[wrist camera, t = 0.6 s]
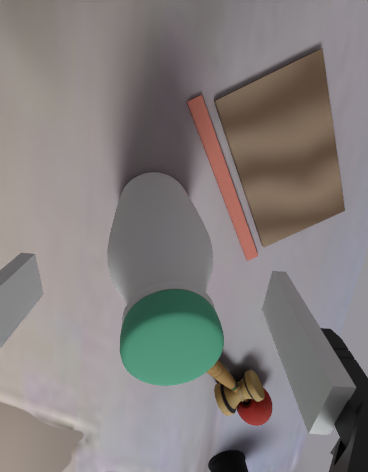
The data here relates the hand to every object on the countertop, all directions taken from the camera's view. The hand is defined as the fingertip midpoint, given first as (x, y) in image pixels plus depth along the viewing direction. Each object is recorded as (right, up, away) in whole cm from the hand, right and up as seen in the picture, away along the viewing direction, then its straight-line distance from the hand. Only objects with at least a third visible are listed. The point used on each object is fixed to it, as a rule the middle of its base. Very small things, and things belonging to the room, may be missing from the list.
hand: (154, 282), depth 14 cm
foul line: (+7, +8, +15) cm, 18 cm away
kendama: (+9, -20, +29) cm, 36 cm away
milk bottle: (-2, +6, +14) cm, 16 cm away
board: (+13, +11, +14) cm, 22 cm away
